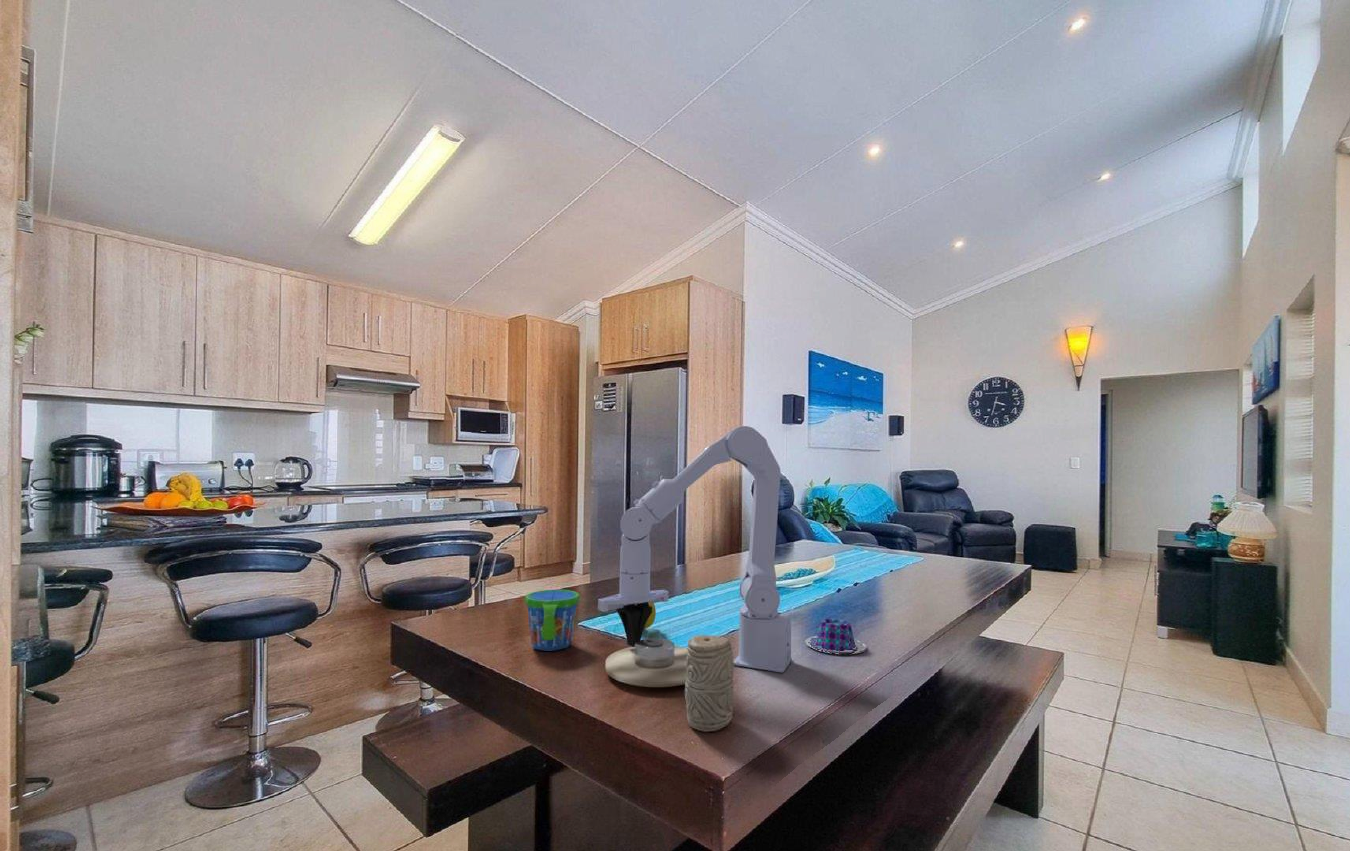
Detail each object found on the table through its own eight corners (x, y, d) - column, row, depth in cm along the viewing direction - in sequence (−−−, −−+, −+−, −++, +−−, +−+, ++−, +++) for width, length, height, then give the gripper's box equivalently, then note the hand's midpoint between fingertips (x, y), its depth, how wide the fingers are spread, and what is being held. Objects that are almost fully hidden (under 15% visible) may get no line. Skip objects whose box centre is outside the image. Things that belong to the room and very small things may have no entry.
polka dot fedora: (870, 644, 119) (869, 618, 119) (861, 661, 108) (861, 633, 109) (812, 635, 124) (812, 611, 125) (799, 651, 114) (799, 625, 114)
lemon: (654, 635, 122) (655, 597, 122) (628, 634, 122) (629, 596, 122) (656, 627, 127) (656, 591, 128) (631, 627, 127) (632, 591, 128)
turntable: (729, 672, 98) (729, 648, 99) (642, 696, 88) (642, 669, 88) (668, 644, 113) (668, 623, 113) (587, 662, 102) (587, 639, 102)
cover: (682, 664, 99) (682, 642, 99) (648, 672, 95) (648, 650, 95) (659, 652, 105) (660, 632, 105) (627, 659, 101) (627, 639, 101)
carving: (674, 726, 80) (675, 639, 81) (707, 710, 86) (708, 628, 86) (709, 742, 76) (711, 650, 76) (742, 723, 81) (743, 637, 82)
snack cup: (533, 634, 121) (534, 585, 122) (582, 634, 121) (584, 586, 122) (514, 659, 106) (516, 604, 106) (571, 660, 106) (573, 604, 107)
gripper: (654, 564, 115) (653, 633, 114) (590, 571, 106) (588, 646, 105) (675, 570, 109) (674, 642, 108) (610, 578, 100) (607, 657, 100)
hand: (633, 645), depth 106 cm, fingers closed
